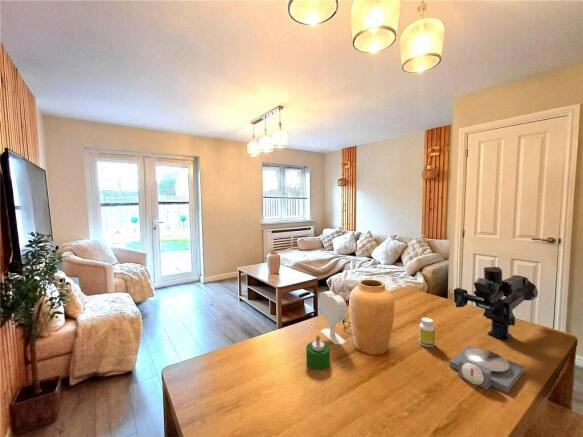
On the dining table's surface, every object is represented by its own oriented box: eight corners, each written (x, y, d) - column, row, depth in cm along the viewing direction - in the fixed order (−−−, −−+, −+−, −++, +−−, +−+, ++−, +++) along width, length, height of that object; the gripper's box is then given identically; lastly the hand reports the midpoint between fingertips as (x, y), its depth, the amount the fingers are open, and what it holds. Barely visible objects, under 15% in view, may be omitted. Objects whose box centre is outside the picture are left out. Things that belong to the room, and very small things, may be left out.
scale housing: (469, 350, 101) (469, 334, 101) (523, 371, 88) (524, 354, 88) (444, 370, 90) (444, 353, 89) (502, 398, 77) (503, 379, 76)
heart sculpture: (348, 343, 107) (348, 299, 106) (337, 346, 105) (337, 301, 104) (328, 326, 121) (327, 287, 120) (318, 329, 119) (317, 289, 118)
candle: (332, 358, 97) (332, 332, 97) (325, 372, 90) (325, 343, 89) (311, 353, 101) (311, 327, 100) (303, 366, 93) (302, 338, 93)
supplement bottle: (436, 348, 103) (436, 323, 102) (421, 346, 104) (421, 322, 103) (431, 340, 108) (432, 317, 108) (417, 339, 109) (417, 316, 109)
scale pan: (473, 346, 98) (473, 344, 98) (514, 362, 88) (514, 360, 88) (458, 358, 91) (458, 356, 91) (501, 377, 81) (501, 375, 81)
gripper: (463, 271, 112) (442, 282, 104) (519, 282, 96) (499, 297, 88) (464, 296, 113) (444, 309, 106) (519, 311, 98) (500, 328, 90)
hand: (469, 310), depth 97 cm, fingers open, 9 cm apart
